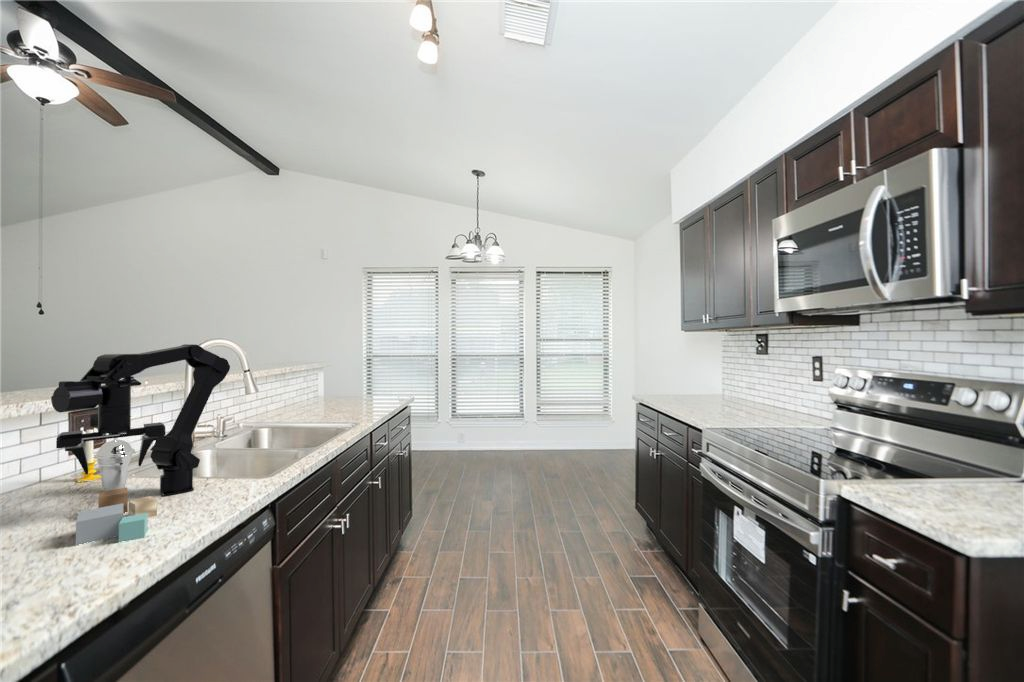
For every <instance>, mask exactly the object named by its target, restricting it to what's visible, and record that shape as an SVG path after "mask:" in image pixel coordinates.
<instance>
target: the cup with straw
mask: <svg viewBox="0 0 1024 682" xmlns="http://www.w3.org/2000/svg"><path fill="white" fill-rule="evenodd" d="M134 454H136V449H135V448H133V447H132V446H131V443H129V442H127V441H125V440H123V439H118V438H113V440H109V441H107V442H105V443H103V444H102V445H101V446H100V447H99V449H98V450H97V452H96V453H93V460H97V464H98V467H99V473H100V476H101V478H100V481H101V487H102V492H103V491H109V490H115V489H120V488H126V484H127V480H128V475H129V468H130V463H131V459H132V455H134Z"/></svg>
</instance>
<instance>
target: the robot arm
mask: <svg viewBox="0 0 1024 682" xmlns="http://www.w3.org/2000/svg"><path fill="white" fill-rule="evenodd" d="M181 361H185V362H186V363H187V365H188V366H189V367H191V368H193V369H194V370H193V372H192V376H193V377H192V379H193V385H192V387H191V389H190V391H189V393H188V396H187V397H186V399H185V400H184V403H183V405H182V407H181V409H180V411H179V413H178V415H177V418H176V419H175V421H174V424H173V425H172V428H171V430H170V431H169V432H167V434H166V425H165V424H164V423H162V422H161V421H160V422H151V423H144V424H143V427H133V428H131V422H132V421H131V417H132V414H131V412H132V411H131V410H132V409H131V408H132V407H131V405H132V400H131V399H132V393H131V392H132V387H137V386H141V385H142V382H140V381H139V380H137V379H136V378H135V377H134V376H135V375H137V374H140V373H142V372H144V371H145V370H146V369H149V368H152V367H157V366H162V365H167V364H171V363H176V362H181ZM230 369H231V365H230V364H229V361H228V360H227V359H226V358H224V357H220V356H219V355H218V354H215V353H213V352H211V351H209V350H206V348H203V347H202V346H201V345H198V344H194V343H193V344H192V343H191V344H182V345H179V346H173V347H167V348H163V349H162V348H161V349H157V350H156V349H155V350H152V351H146V352H140V353H110V354H109V353H106V354H105V353H104V354H102V355H99V356H97V357H96V359H95V360H94V361H93V365H92V366H91V368H90V369H89V370H88V371H87V372H86V374H85V375H83V377H81V379H80V380H75V381H73V380H72V381H69V380H67V381H66V380H63V381H61V380H60V381H59V382H58V387H57V388H55V390H54V391H53V393H52V395H51V397H50V401H51V405H52V408H53V409H54V410H55V411H56V412H57V413H67V412H75V411H81V410H82V411H83V410H91V409H95V408H96V407H97V414H90V417H89V418H90V419H89V429H90V430H93V429H97V432H93V433H86V432H85V433H83V430H74V431H73V430H72V431H71V430H70V431H63V432H60V433H59V434H58V435H57V437H56V442H55V444H56V447H55V449H64V451H65V452H71V453H72V454H73V455H74V456H75V458H76V459H77V460H78V462H79V464H80V466H81V468H82V470H83V471H84V472H85V474H88V462H87V456H86V451H85V449H86V441H93V442H94V441H100V440H101V441H102V440H109V439H114V438H117V439H118V438H125V437H126V438H127V437H136V436H141V442H140V449H139V454H138V467H141V466H142V464H143V462H144V460H145V457H146V454H147V453H148V451H151V453H150V458H151V461H152V462H153V463H154V464H155V466H156V468H157V470H159V471H161V470H162V474H161V475H160V476H159V491H160V493H162V495H163V497H165V496H171V495H177V494H181V493H187V492H193V491H194V490H195V488H194V483H193V481H194V478H193V476H194V473H193V472H194V469H196V468H198V467H199V464H200V461H201V460H200V458H199V457H197V456H196V455H194V454H193V453H192V450H193V447H194V445H193V436H192V435H193V432H194V431H195V429H196V426H197V424H198V422H199V420H200V418H201V415H202V414H203V411H204V409H205V407H206V405H207V403H208V400H209V398H210V397H211V394H212V392H213V390H214V388H215V387H216V386H218V385H219V384H220V383H222V382H223V380H224V379H226V376H227V375H228V374H229V372H230ZM153 442H154V445H153V446H152V444H153ZM151 446H152V447H151ZM150 447H151V448H150Z"/></svg>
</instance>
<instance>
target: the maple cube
mask: <svg viewBox="0 0 1024 682" xmlns="http://www.w3.org/2000/svg"><path fill="white" fill-rule="evenodd" d="M144 513H148V519H150V518H152V517H156V516H158V499H157V498H156V497H153V496H151V495H149V496H145V497H144V496H143V497H139V498H137V499H132V500H129V501H128V513H127V514H128V516H132V515H138V514H144ZM149 517H150V518H149Z"/></svg>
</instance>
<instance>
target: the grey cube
mask: <svg viewBox="0 0 1024 682" xmlns="http://www.w3.org/2000/svg"><path fill="white" fill-rule="evenodd" d="M123 517H124V514H123V503H122V504H117V505H111V506H106V507H101V508H98V507H96V508H91V509H85V510H81V511H78V513H77V517H76V521H75V546H76V545H77V546H80V545H79V544H82V545H85V544H84V543H86V544H88V543H87V542H91V543H93V542H92V541H95V542H98V541H97V540H99V541H102V540H101V539H104V540H107V539H106V538H108V539H111V538H110V537H112V538H115V537H114V536H117V537H119V523H120V521H121V520H122V518H123Z"/></svg>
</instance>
